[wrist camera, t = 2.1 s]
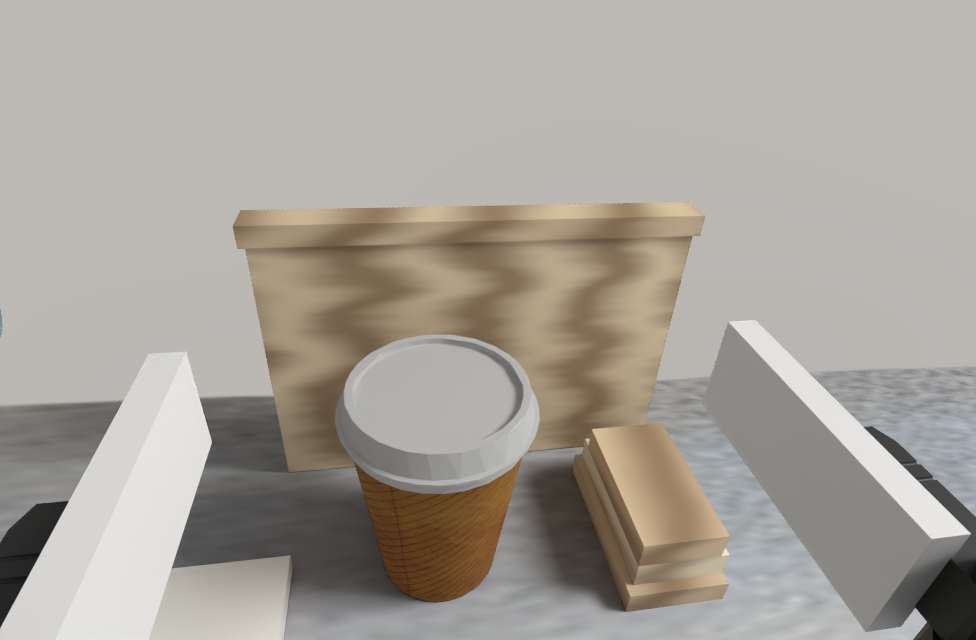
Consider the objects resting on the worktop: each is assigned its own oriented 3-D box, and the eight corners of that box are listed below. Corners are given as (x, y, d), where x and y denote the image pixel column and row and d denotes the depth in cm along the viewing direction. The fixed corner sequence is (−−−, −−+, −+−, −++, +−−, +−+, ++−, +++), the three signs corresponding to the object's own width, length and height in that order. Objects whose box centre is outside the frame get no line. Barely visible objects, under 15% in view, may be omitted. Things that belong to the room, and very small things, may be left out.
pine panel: (283, 475, 37) (232, 226, 28) (287, 452, 39) (240, 210, 30) (645, 443, 41) (705, 215, 32) (634, 424, 43) (688, 202, 34)
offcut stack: (625, 614, 31) (642, 558, 28) (572, 472, 39) (581, 418, 37) (721, 601, 32) (745, 545, 29) (649, 464, 40) (663, 411, 37)
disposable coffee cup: (456, 463, 39) (459, 310, 33) (556, 564, 33) (585, 401, 26) (323, 536, 34) (296, 371, 27) (413, 673, 28) (406, 502, 21)
